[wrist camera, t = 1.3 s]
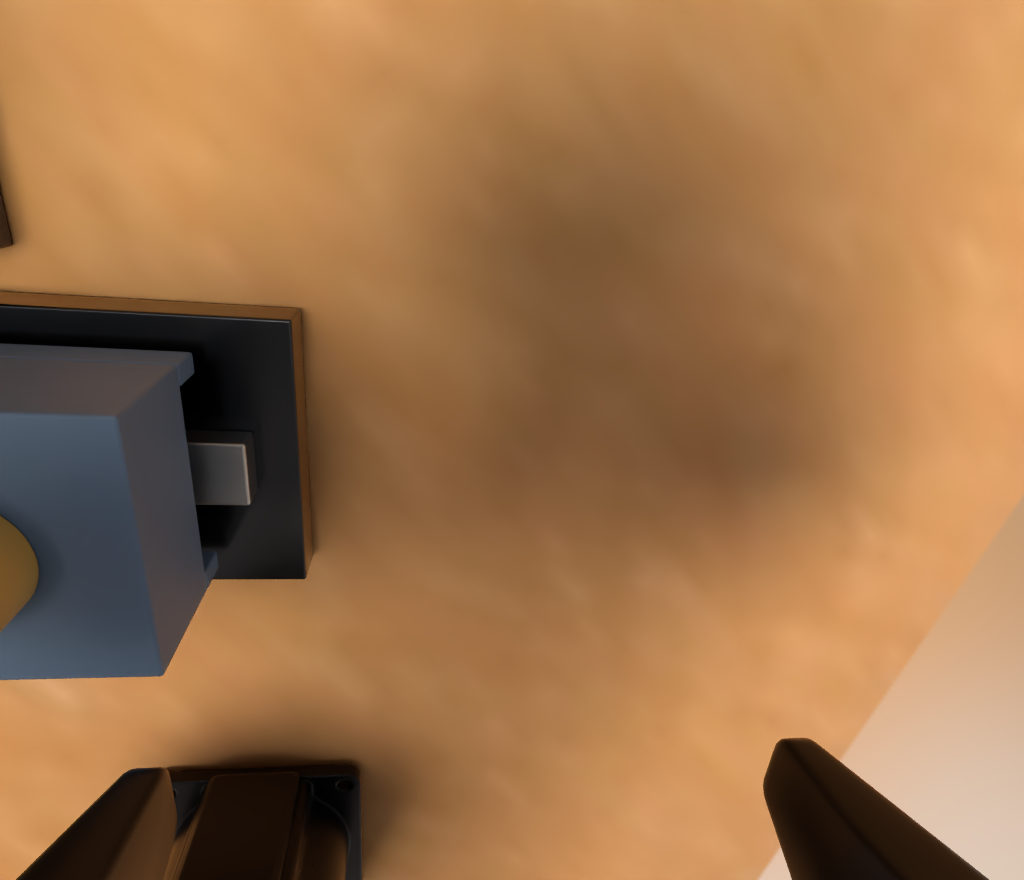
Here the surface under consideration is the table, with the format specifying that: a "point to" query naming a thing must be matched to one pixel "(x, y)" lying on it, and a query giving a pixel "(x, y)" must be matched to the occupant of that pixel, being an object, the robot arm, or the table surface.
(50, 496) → the blue cube with peg
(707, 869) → the table surface
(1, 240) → the box
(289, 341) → the rail
